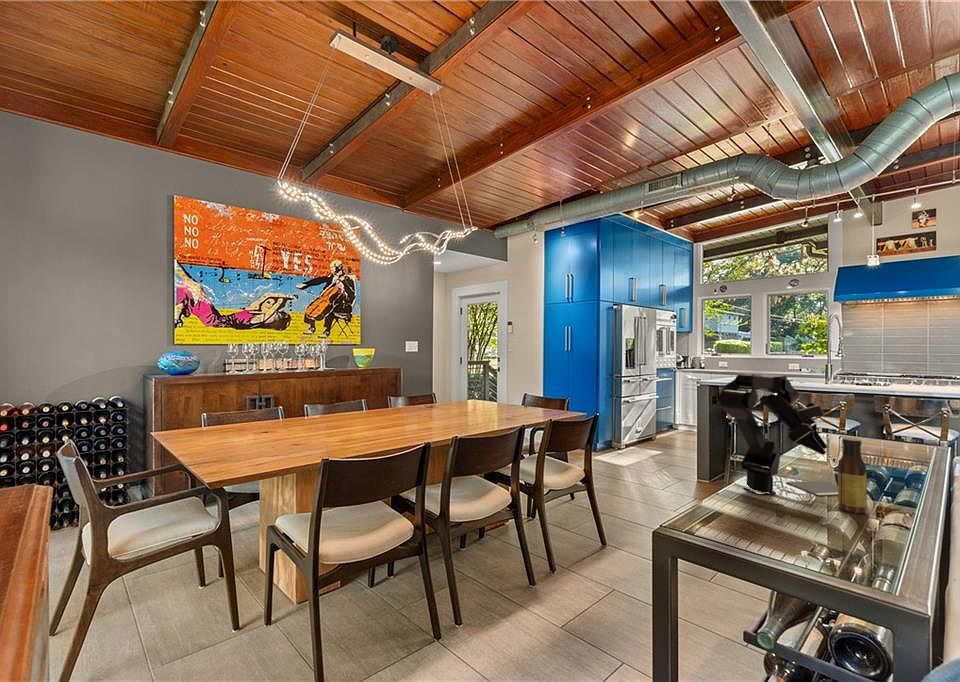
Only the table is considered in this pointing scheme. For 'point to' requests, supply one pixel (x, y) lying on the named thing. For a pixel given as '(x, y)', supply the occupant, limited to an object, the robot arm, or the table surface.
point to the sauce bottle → (852, 478)
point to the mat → (817, 487)
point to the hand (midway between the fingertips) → (825, 450)
